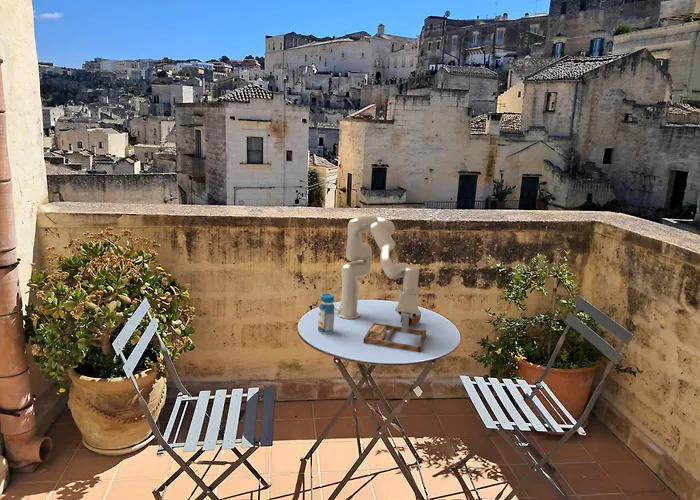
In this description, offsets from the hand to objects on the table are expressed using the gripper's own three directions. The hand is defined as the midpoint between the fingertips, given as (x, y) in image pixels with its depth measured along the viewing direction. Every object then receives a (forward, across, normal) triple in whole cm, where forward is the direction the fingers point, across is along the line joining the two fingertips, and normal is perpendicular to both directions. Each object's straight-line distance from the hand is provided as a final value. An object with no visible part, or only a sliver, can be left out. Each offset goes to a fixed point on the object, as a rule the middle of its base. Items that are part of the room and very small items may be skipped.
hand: (406, 324), depth 281 cm
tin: (+9, 0, +24) cm, 26 cm away
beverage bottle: (+10, -42, -5) cm, 43 cm away
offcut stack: (+10, -14, 0) cm, 17 cm away
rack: (+9, -5, 0) cm, 10 cm away
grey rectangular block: (+2, 0, 0) cm, 2 cm away
